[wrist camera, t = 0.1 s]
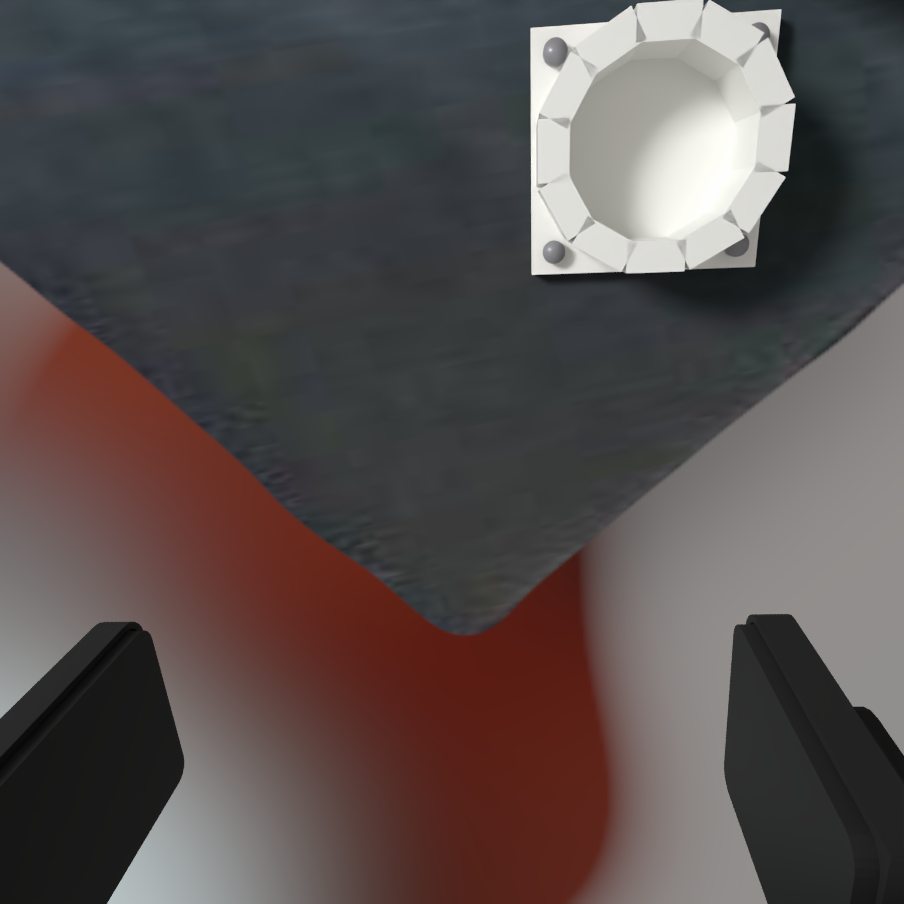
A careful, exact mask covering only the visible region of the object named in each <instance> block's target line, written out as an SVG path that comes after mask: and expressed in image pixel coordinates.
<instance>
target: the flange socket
mask: <svg viewBox="0 0 904 904" xmlns="http://www.w3.org/2000/svg"><path fill="white" fill-rule="evenodd" d="M781 10H782V9H778V10H765V11H752V12H738V13H731V12H729V11H727V10H726V9H724V8H722V7H721V6H719V5H717V4H716V3H714V2H712V1H711V0H709V1H708V2H707V3H706V4H705V5H704V7H703V0H675V1H663V2H650V3H637V5H636V7H635V9H634V10H633V8H632V6H630V7H629V8H627V9H626V10H625V11H623V12H622V13H620V14H619V15H618V16H616V17H615V18H613V19H612V20H611V21H609V22H605V23H592V24H579V25H566V26H552V27H539V28H531V267H532V275H543V274H571V273H598V272H625V273H654V272H682V271H685V269H689V270H690V269H709V268H736V267H755V263H756V253H757V243H758V234H759V224H760V216H761V214H762V213H763V211H764V210H765V208H766V207H767V205H768V204H769V202H770V201H771V199H772V198H773V196H774V194H775V193H776V191H777V190H778V188H779V187H780V185H781V184H782V182H783V181H784V179H785V178H786V177H785V176H783V175H781V174H780V173H778V172H785V171H788V168H789V159H790V150H791V141H792V132H793V124H794V115H795V106H796V104H785V103H786V102H788V101H790V100H791V99H793V98H794V97H795V96H794V94H793V92H792V90H791V87H790V85H789V83H788V81H787V78H786V76H785V74H784V72H783V69H782V67H781V65H780V62H779V60H778V58H777V49H778V39H779V30H780V20H781Z"/></svg>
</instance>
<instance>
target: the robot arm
mask: <svg viewBox="0 0 904 904" xmlns="http://www.w3.org/2000/svg"><path fill="white" fill-rule="evenodd" d="M183 769H184V756H183V752H182V748H181V744H180V741H179V737H178V733H177V730H176V726H175V722H174V718H173V715H172V711H171V707H170V703H169V700H168V696H167V692H166V689H165V685H164V681H163V678H162V674H161V670H160V666H159V663H158V659H157V655H156V651H155V648H154V644H153V640H152V637H151V635H150V634H149V633H148V632H147V631H143V629H142V627H141V626H140V625H139V624H138V623H136V622H103V623H99V624H97V625H96V626H95V627H93V628H92V629H91V630H90V631H89V633H87V634H86V635H85V636H84V637H83V638H82V639H81V640H80V641H79V642H78V643H77V644H76V645H75V646H74V647H73V648H72V649H71V650H70V651H69V652H68V653H67V654H66V655H65V656H64V657H63V658H62V659H61V660H60V661H59V662H58V663H57V664H56V665H55V666H54V667H53V668H52V669H51V670H50V671H49V672H48V673H46V675H44V677H42V678H41V680H40V681H38V682H37V683H36V684H35V685H34V686H33V687H32V688H31V689H30V690H29V691H28V692H27V693H26V694H25V695H24V696H23V697H22V698H21V699H20V700H19V701H18V702H17V703H16V704H15V705H14V706H13V707H12V708H11V709H10V710H9V711H8V712H7V713H6V714H5V715H4V716H3V717H2V718H1V719H0V904H107V902H108V901H109V899H110V897H111V896H112V894H113V892H114V891H115V889H116V887H117V886H118V884H119V882H120V881H121V879H122V877H123V876H124V874H125V872H126V871H127V869H128V867H129V866H130V864H131V862H132V861H133V859H134V857H135V856H136V854H137V852H138V850H139V849H140V847H141V845H142V844H143V842H144V840H145V839H146V837H147V835H148V834H149V832H150V830H151V829H152V827H153V825H154V823H155V822H156V820H157V819H158V817H159V815H160V814H161V812H162V810H163V808H164V807H165V805H166V803H167V802H168V800H169V798H170V797H171V795H172V793H173V792H174V790H175V788H176V787H177V785H178V783H179V781H180V779H181V776H182V774H183ZM724 772H725V780H726V785H727V789H728V792H729V795H730V798H731V801H732V804H733V807H734V809H735V812H736V815H737V818H738V821H739V823H740V826H741V829H742V832H743V835H744V838H745V841H746V844H747V846H748V849H749V852H750V855H751V858H752V861H753V863H754V866H755V869H756V872H757V874H758V878H759V880H760V883H761V886H762V889H763V891H764V894H765V897H766V900H767V903H768V904H904V755H903V754H902V753H901V751H900V750H899V748H898V747H897V745H896V744H895V742H894V741H893V740H892V738H891V737H890V735H889V734H888V732H887V731H886V730H885V728H884V727H883V725H882V724H881V722H880V721H879V720H878V718H877V717H876V716H875V715H874V714H873V713H872V712H871V711H870V710H869V709H867V708H865V707H853V706H852V705H851V703H850V702H849V700H848V699H847V697H846V696H845V694H844V692H843V691H842V690H841V688H840V687H839V685H838V684H837V682H836V681H835V679H834V677H833V676H832V675H831V673H830V672H829V670H828V668H827V667H826V665H825V664H824V662H823V661H822V659H821V658H820V656H819V655H818V653H817V652H816V650H815V649H814V647H813V646H812V644H811V643H810V641H809V640H808V638H807V637H806V635H805V634H804V632H803V631H802V629H801V628H800V626H799V625H798V623H797V622H796V620H795V619H794V618H793V617H792V615H789V614H764V615H763V614H762V615H750V616H748V619H747V621H746V625H736V626H735V629H734V635H733V650H732V663H731V677H730V691H729V704H728V718H727V732H726V746H725V760H724Z"/></svg>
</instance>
